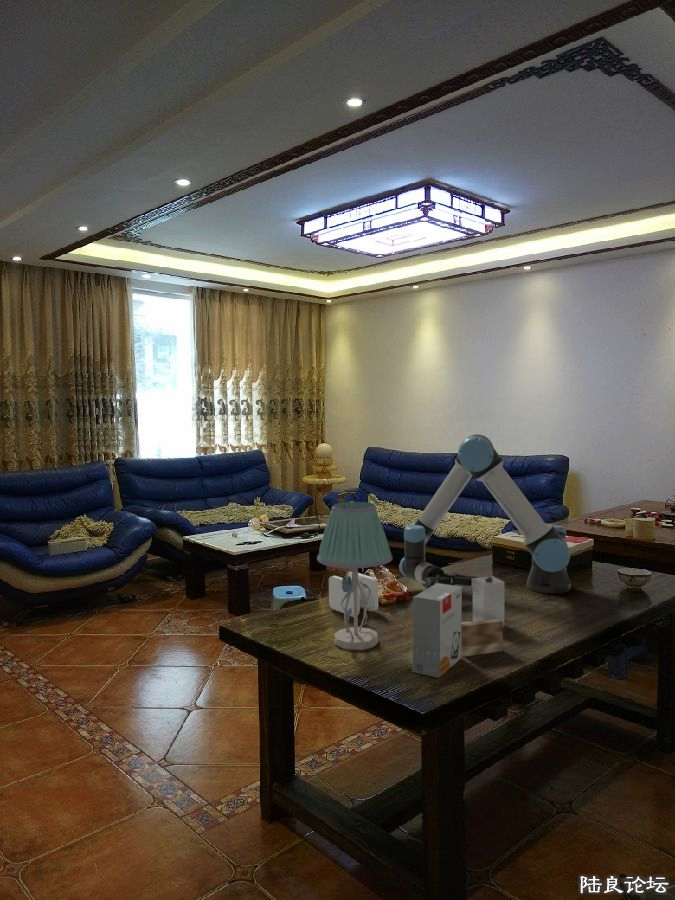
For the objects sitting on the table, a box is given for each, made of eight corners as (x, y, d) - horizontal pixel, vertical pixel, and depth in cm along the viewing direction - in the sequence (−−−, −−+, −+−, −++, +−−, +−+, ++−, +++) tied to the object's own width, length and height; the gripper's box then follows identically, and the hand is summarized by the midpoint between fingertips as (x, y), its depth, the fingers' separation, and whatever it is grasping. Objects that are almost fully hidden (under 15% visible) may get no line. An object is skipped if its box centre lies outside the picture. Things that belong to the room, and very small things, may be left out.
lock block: (492, 619, 207) (492, 573, 205) (504, 627, 200) (504, 579, 199) (472, 622, 205) (472, 575, 203) (483, 629, 198) (483, 581, 197)
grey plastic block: (327, 608, 221) (326, 574, 220) (351, 602, 227) (350, 569, 226) (355, 620, 209) (355, 584, 208) (380, 612, 215) (379, 578, 215)
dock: (471, 629, 198) (471, 601, 198) (502, 651, 181) (502, 620, 180) (434, 634, 195) (434, 606, 194) (463, 656, 178) (463, 626, 177)
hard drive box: (439, 679, 164) (439, 601, 162) (411, 673, 168) (410, 597, 166) (462, 658, 177) (462, 585, 175) (436, 652, 181) (435, 581, 179)
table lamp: (342, 624, 205) (340, 497, 202) (405, 636, 194) (404, 502, 191) (304, 647, 186) (301, 508, 183) (371, 662, 175) (369, 514, 172)
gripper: (459, 581, 235) (498, 596, 216) (400, 591, 224) (436, 608, 205) (459, 560, 234) (498, 574, 216) (399, 569, 223) (436, 585, 204)
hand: (468, 591), depth 210 cm, fingers open, 13 cm apart
